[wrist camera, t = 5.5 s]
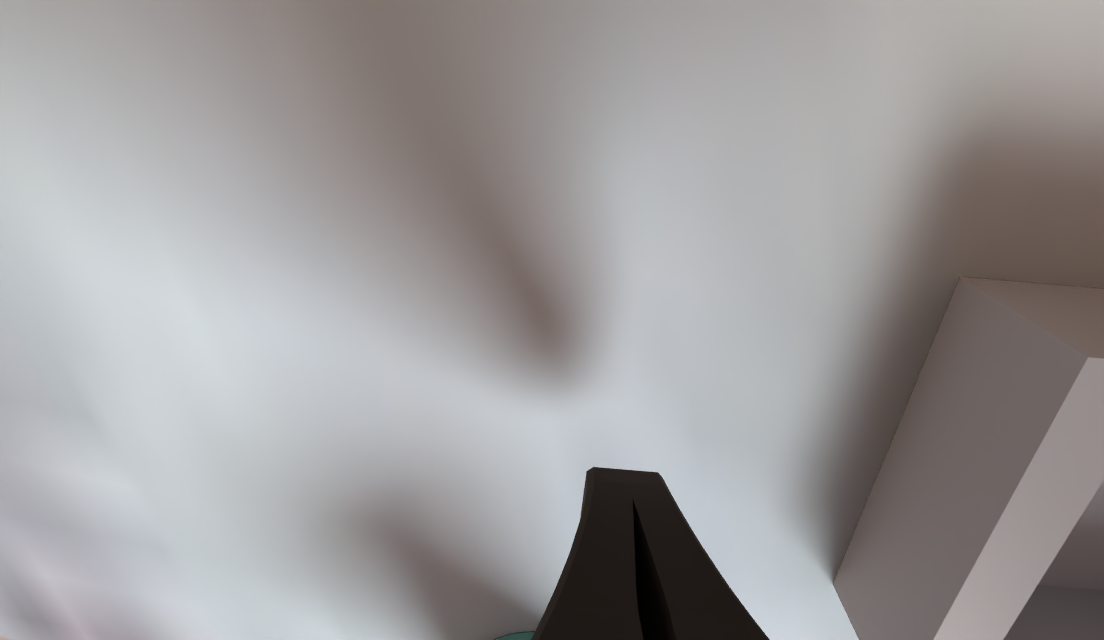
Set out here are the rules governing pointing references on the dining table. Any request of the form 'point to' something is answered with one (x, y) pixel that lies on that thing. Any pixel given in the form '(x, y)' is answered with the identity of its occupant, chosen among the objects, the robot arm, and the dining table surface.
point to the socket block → (992, 478)
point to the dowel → (518, 636)
